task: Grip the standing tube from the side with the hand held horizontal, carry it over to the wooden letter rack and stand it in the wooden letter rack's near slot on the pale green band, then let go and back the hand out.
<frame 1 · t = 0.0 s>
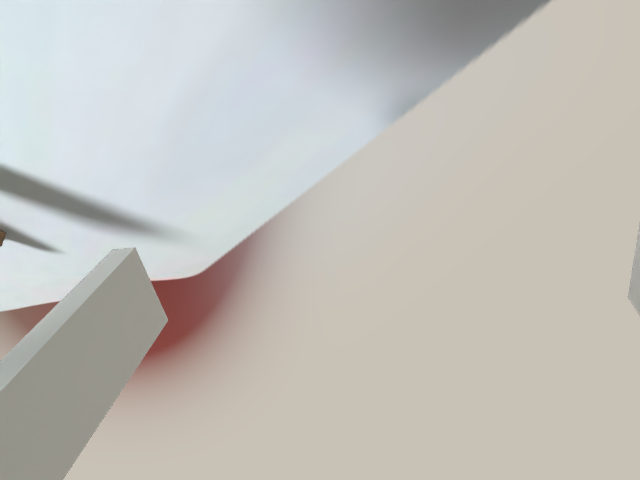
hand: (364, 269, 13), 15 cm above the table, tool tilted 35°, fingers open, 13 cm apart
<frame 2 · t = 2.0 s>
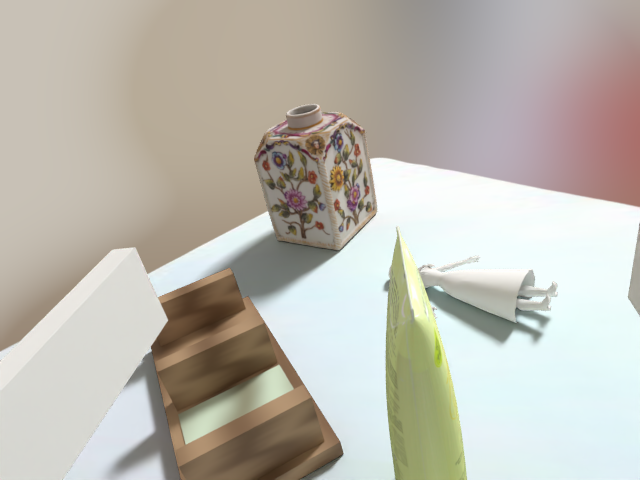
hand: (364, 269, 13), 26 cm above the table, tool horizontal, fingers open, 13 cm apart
decorative jar: (327, 228, 71), on the table
woman figurine: (463, 298, 51), on the table
wooden letter rack: (231, 392, 45), on the table
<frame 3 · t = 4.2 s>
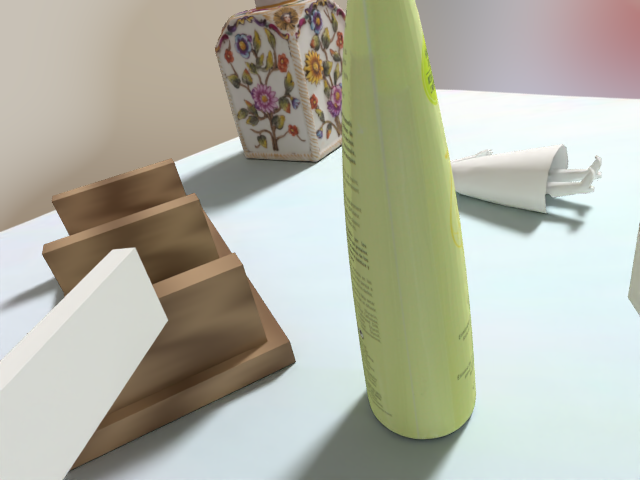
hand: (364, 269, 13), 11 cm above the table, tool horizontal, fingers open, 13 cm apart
tube: (421, 403, 22), on the table
decorative jar: (306, 145, 59), on the table
woman figurine: (473, 197, 39), on the table
wooden letter rack: (158, 299, 34), on the table
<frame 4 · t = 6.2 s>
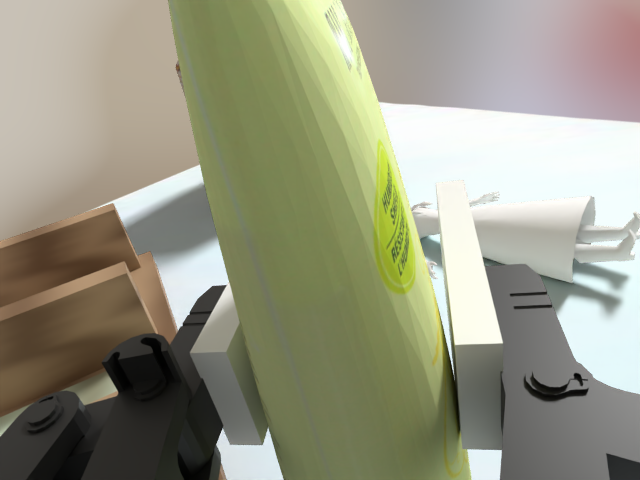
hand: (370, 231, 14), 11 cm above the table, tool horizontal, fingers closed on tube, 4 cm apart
woman figurine: (478, 253, 32), on the table
wooden letter rack: (82, 392, 27), on the table
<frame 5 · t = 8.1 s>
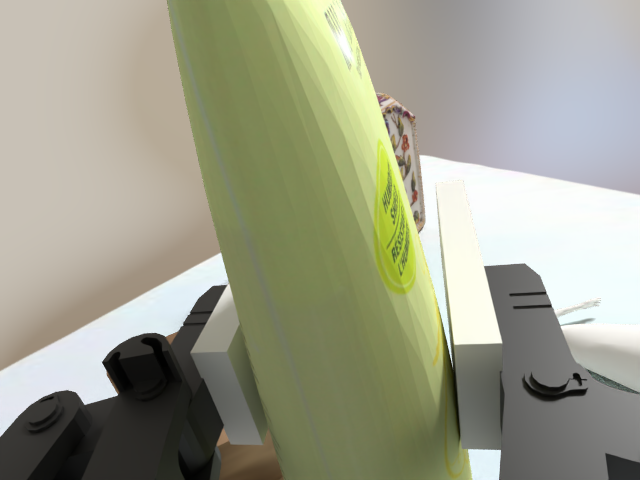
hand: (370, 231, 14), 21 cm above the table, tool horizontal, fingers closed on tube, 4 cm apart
decorative jar: (361, 244, 55), on the table
woman figurine: (589, 365, 34), on the table
when the fingers open (14 cm above the table, at t = 10.0 s): tube drops 1 cm, resting on wooden letter rack.
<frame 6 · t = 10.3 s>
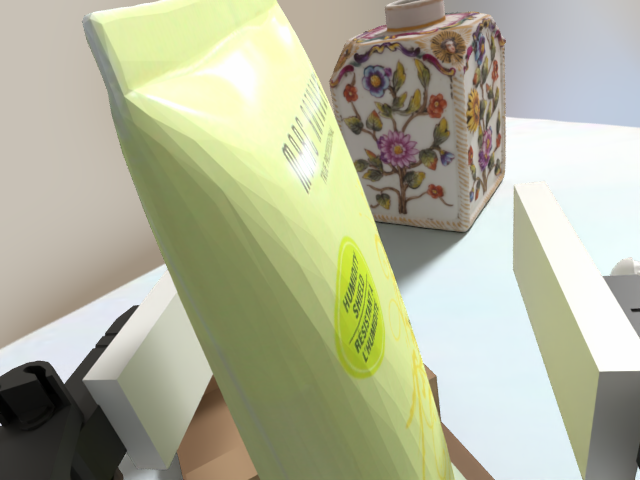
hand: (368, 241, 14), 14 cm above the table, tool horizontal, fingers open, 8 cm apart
decorative jar: (429, 200, 46), on the table
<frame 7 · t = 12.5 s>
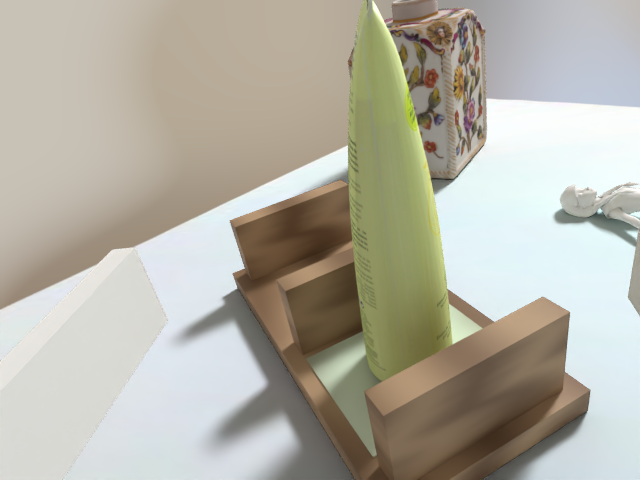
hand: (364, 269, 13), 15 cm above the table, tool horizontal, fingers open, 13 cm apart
tube: (410, 364, 27), point 1 cm above the table, touching wooden letter rack
decorative jar: (425, 160, 58), on the table
wooden letter rack: (368, 333, 32), on the table
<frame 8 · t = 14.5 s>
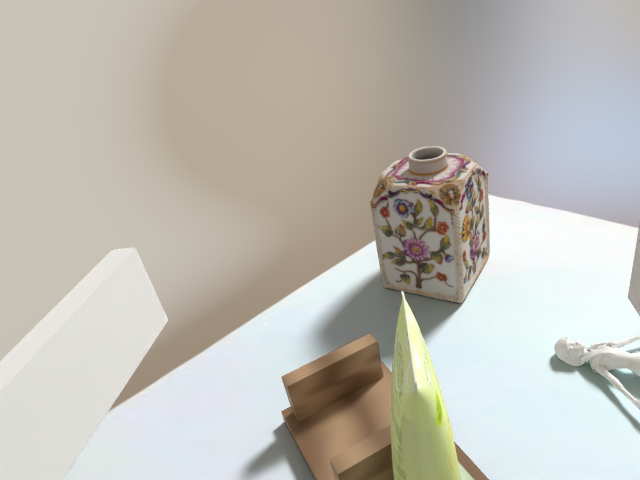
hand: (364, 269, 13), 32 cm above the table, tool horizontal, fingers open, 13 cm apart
decorative jar: (436, 274, 66), on the table
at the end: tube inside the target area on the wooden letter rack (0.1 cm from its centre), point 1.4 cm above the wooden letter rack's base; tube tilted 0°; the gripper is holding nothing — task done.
